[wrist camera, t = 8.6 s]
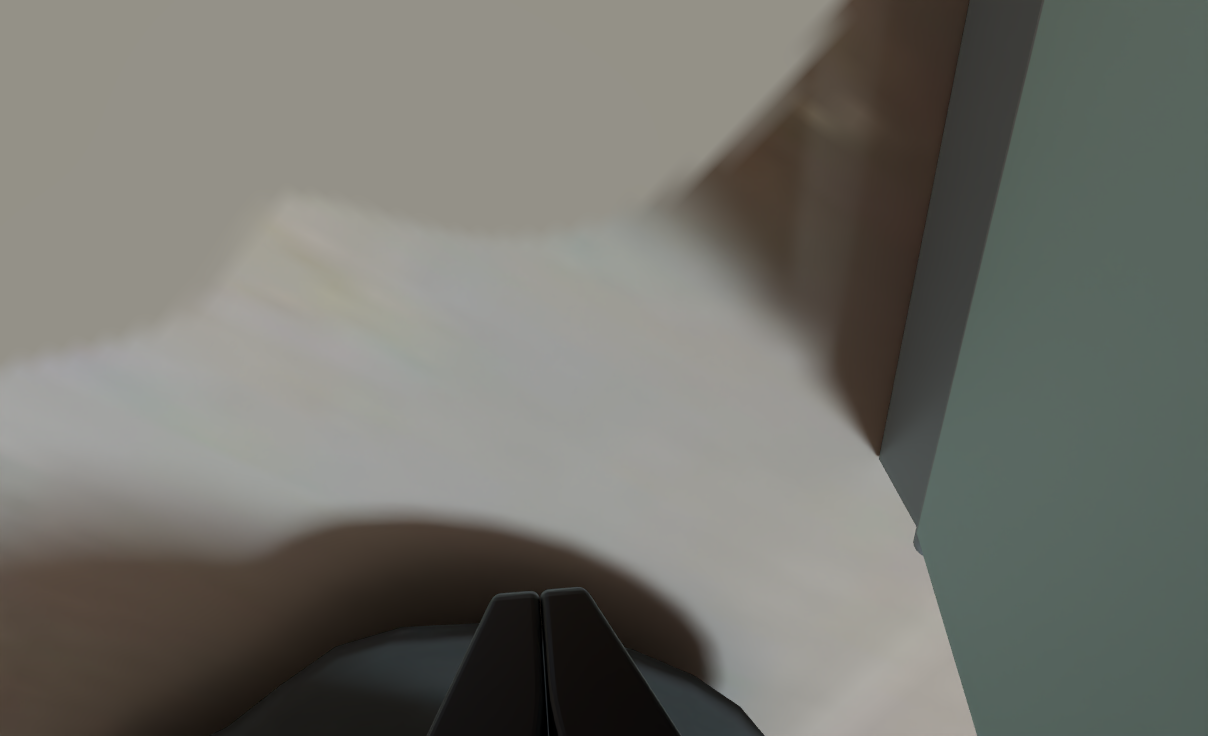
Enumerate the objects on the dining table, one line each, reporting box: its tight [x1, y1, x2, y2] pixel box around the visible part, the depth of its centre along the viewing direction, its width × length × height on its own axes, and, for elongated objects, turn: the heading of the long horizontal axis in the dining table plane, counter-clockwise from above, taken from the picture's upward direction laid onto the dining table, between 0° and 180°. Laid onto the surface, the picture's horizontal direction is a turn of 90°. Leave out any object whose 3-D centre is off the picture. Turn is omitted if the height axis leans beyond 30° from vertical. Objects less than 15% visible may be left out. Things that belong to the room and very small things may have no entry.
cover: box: [913, 0, 1208, 736], centre depth 11 cm, size 12×8×1 cm
